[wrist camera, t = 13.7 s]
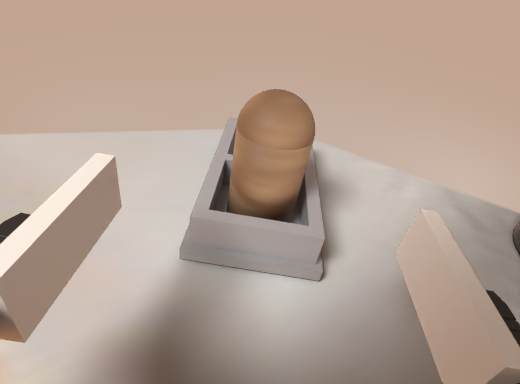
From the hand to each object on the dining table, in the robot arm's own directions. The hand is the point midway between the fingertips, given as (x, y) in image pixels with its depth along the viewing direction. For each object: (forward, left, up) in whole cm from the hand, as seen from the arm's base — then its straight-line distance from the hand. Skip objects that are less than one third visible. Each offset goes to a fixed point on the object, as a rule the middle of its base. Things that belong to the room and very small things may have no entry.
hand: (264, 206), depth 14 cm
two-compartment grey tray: (+6, -11, -9) cm, 15 cm away
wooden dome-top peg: (+4, -8, -8) cm, 11 cm away
